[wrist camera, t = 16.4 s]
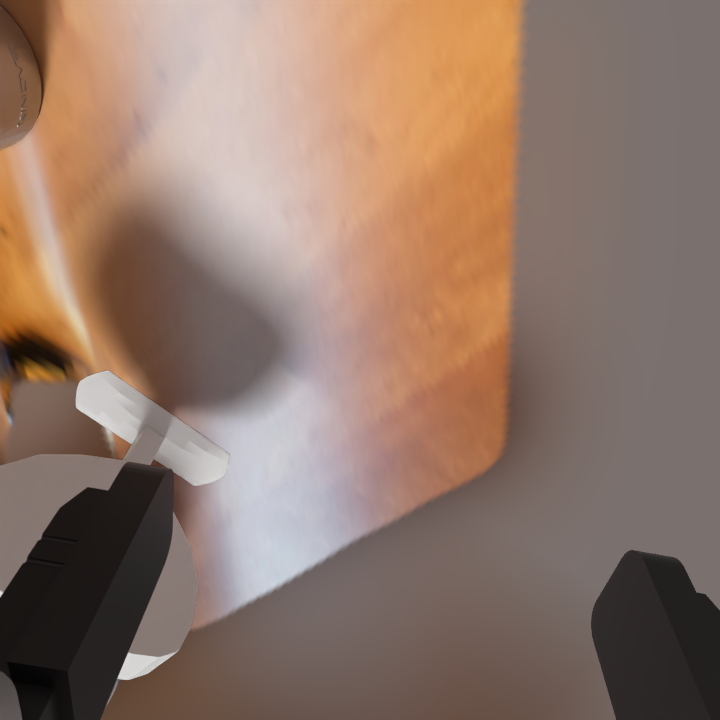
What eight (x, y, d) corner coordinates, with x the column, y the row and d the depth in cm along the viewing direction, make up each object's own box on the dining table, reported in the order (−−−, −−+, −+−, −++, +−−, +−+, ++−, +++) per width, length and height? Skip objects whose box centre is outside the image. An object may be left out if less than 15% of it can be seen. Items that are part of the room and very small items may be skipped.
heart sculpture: (53, 393, 47) (-114, 585, 32) (85, 354, 45) (-79, 539, 30) (213, 498, 52) (134, 708, 37) (248, 467, 50) (180, 677, 35)
